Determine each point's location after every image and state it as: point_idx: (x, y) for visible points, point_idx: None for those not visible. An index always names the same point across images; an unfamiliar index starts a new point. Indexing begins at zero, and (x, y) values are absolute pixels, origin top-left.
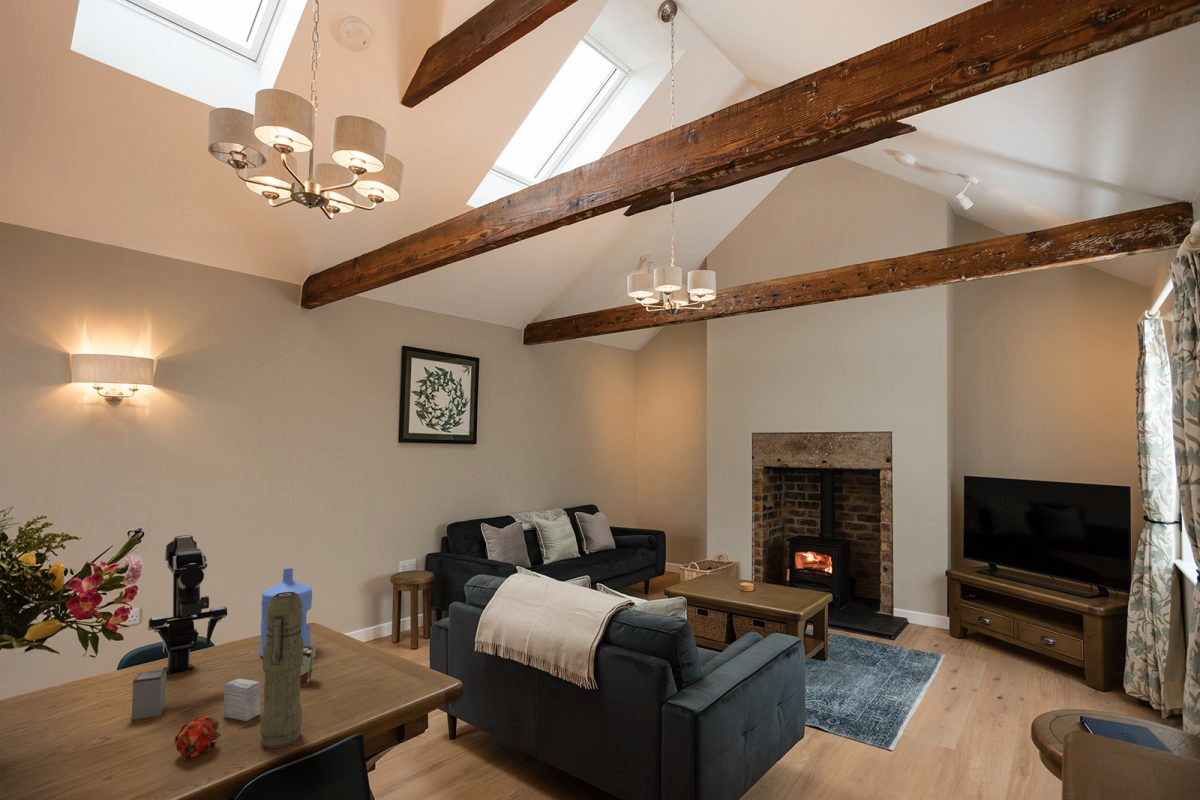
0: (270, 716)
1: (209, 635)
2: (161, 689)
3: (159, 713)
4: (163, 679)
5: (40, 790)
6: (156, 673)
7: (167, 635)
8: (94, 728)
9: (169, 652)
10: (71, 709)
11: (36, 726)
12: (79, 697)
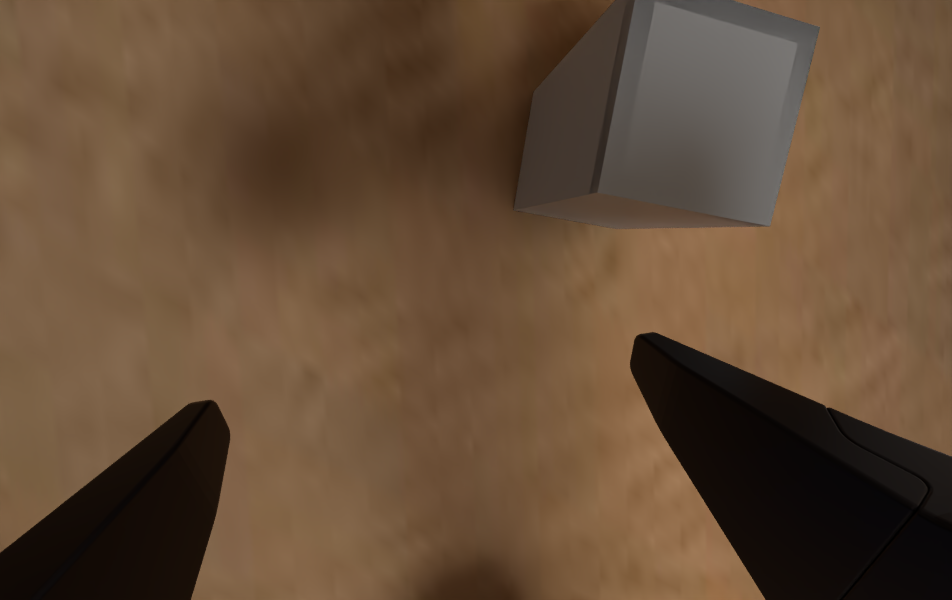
0: None
1: (87, 506)
2: (576, 76)
3: (535, 94)
4: (590, 109)
5: None
6: (668, 111)
7: (885, 473)
8: None
9: (637, 338)
10: (825, 394)
11: (918, 273)
12: None
